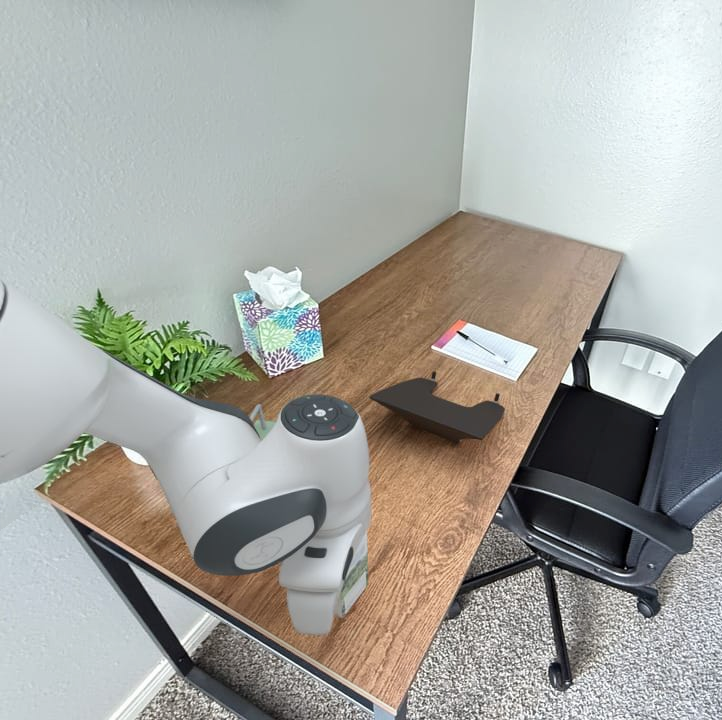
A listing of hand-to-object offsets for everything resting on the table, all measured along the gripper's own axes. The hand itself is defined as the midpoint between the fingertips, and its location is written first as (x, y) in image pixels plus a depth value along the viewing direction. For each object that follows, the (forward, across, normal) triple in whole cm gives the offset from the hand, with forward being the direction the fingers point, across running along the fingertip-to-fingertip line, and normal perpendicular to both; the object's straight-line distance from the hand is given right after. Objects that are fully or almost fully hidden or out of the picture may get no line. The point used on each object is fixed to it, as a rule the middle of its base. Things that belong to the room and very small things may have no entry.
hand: (340, 571), depth 62 cm
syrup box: (+6, 0, 0) cm, 6 cm away
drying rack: (+9, -24, -19) cm, 32 cm away
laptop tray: (+8, -38, +11) cm, 41 cm away
